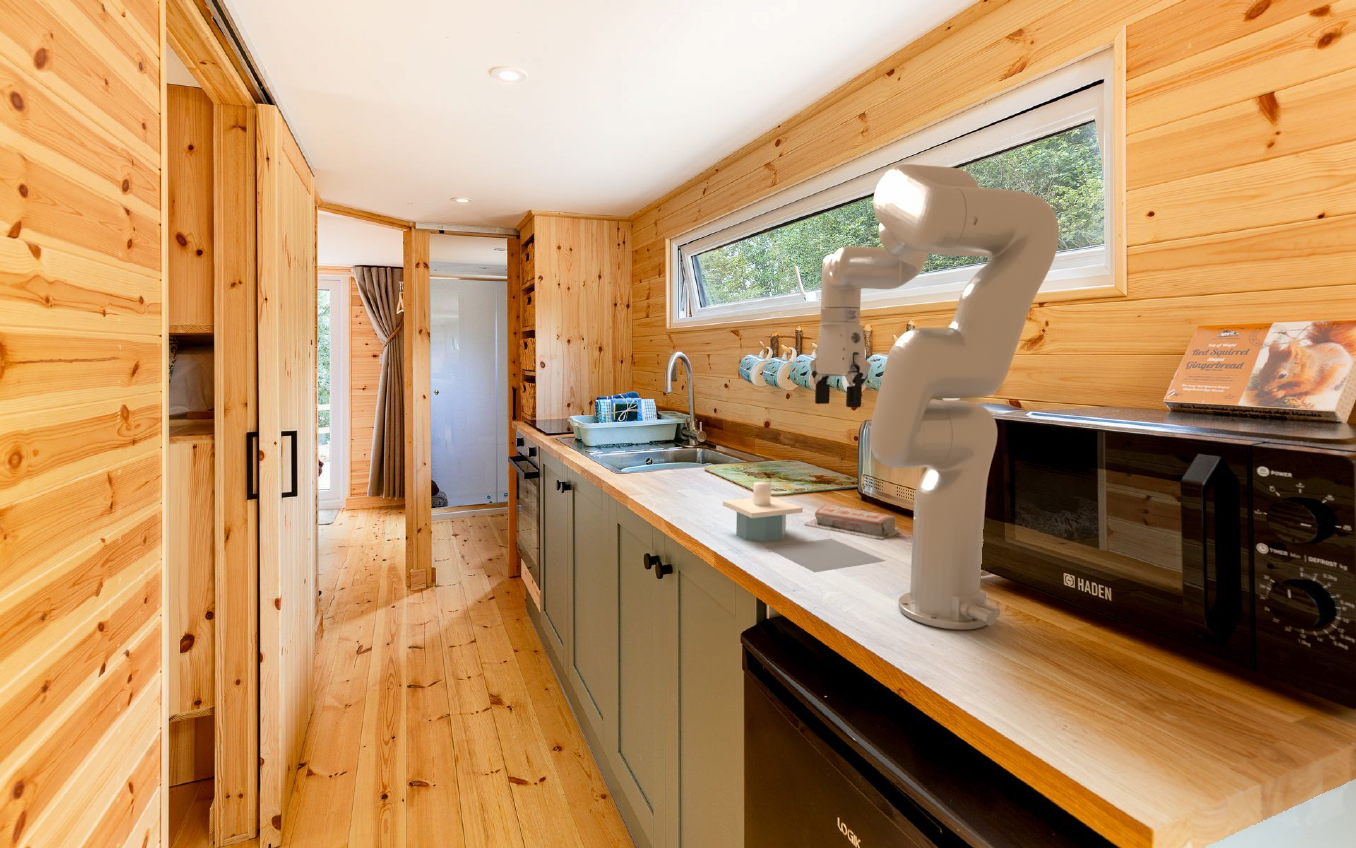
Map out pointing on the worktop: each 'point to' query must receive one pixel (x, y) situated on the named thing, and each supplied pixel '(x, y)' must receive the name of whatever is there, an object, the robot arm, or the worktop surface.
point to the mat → (824, 555)
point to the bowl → (761, 528)
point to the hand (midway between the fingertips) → (837, 405)
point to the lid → (762, 503)
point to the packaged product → (854, 522)
